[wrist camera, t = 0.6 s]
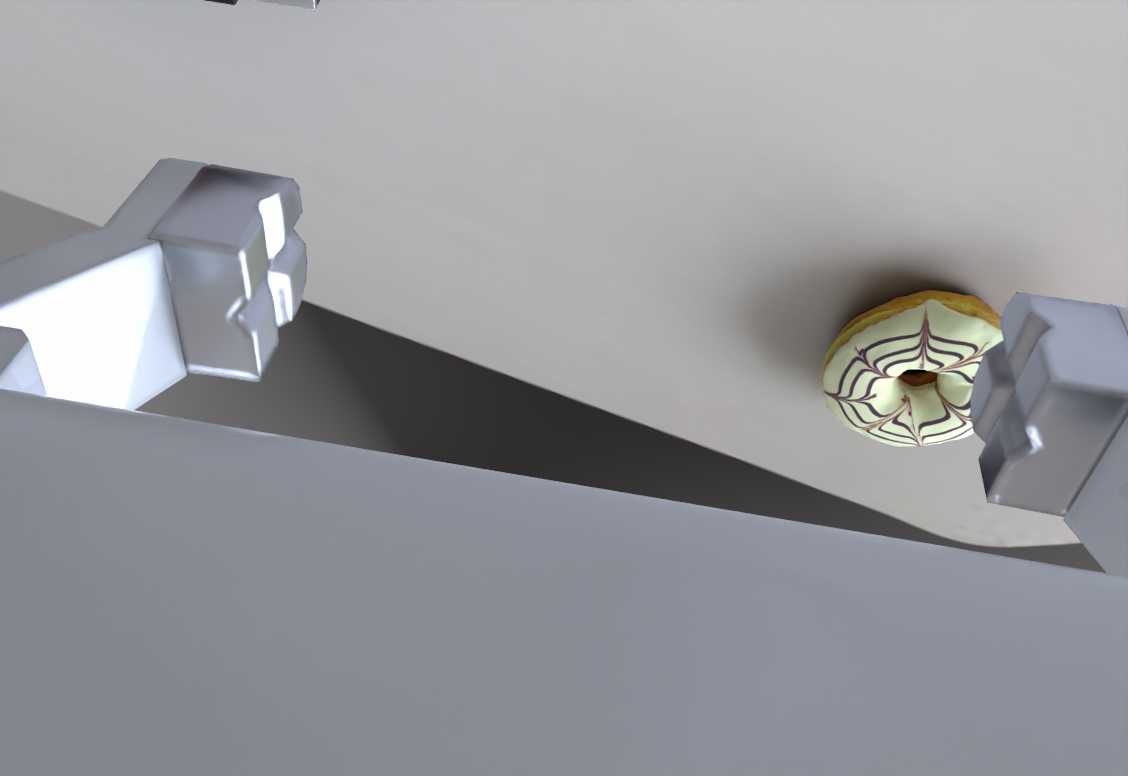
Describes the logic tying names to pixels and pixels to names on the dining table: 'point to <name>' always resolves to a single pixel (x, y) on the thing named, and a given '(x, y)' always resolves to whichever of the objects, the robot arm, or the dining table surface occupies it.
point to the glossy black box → (280, 3)
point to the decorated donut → (910, 367)
